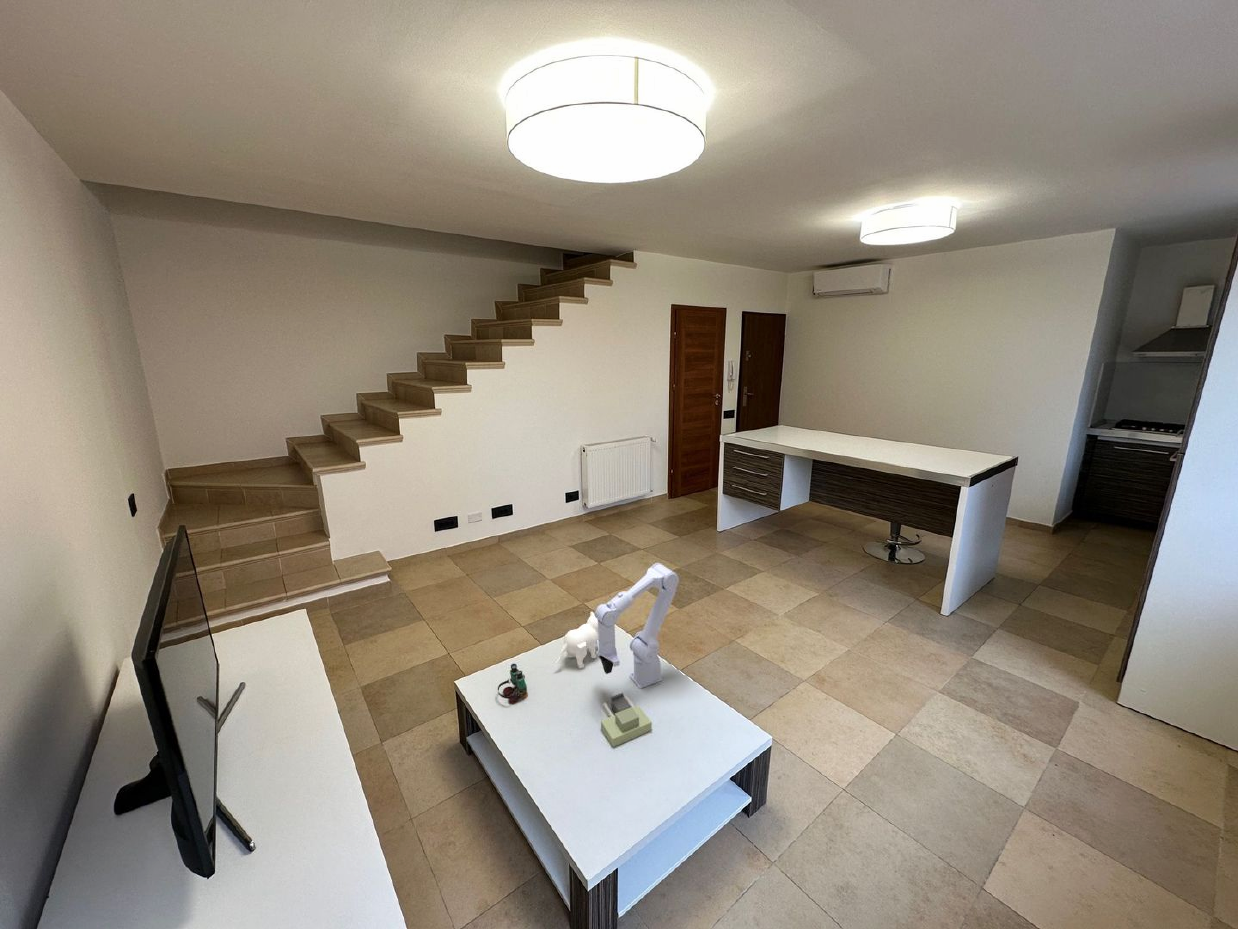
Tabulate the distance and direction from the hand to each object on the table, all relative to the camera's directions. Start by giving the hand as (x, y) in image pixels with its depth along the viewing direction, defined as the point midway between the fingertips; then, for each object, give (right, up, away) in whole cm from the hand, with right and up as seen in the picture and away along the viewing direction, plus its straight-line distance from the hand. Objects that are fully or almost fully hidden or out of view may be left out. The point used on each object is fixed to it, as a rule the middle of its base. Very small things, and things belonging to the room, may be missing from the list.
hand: (608, 672), depth 170 cm
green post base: (+4, -12, -9) cm, 16 cm away
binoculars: (-34, -10, +3) cm, 35 cm away
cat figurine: (-10, -4, +22) cm, 25 cm away
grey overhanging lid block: (+5, -11, -6) cm, 14 cm away
